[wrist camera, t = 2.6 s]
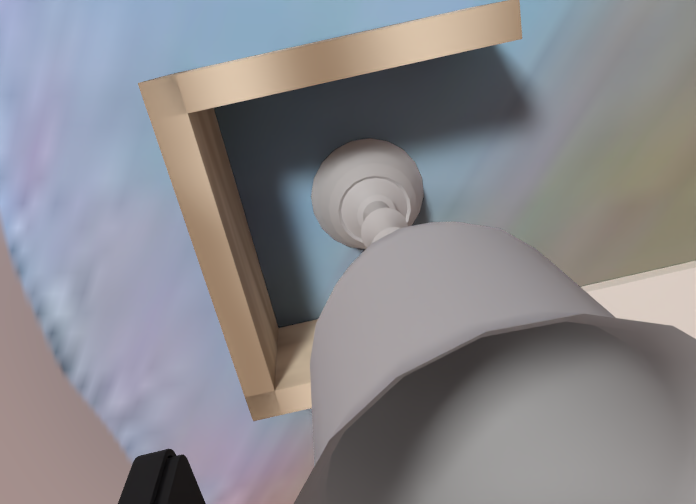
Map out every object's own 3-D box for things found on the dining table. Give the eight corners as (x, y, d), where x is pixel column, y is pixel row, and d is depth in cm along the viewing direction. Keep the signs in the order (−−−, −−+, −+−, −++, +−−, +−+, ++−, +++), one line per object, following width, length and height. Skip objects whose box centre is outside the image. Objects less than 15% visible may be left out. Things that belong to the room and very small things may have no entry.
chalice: (289, 111, 22) (269, 322, 6) (449, 111, 23) (866, 305, 6) (293, 272, 25) (287, 743, 8) (436, 269, 26) (702, 701, 9)
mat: (736, 251, 27) (746, 255, 26) (722, 424, 31) (730, 431, 30) (521, 300, 27) (526, 305, 26) (537, 466, 31) (541, 474, 30)
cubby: (470, 7, 21) (519, -2, 17) (501, 299, 26) (545, 354, 22) (172, 74, 21) (137, 83, 17) (260, 354, 26) (253, 421, 22)
